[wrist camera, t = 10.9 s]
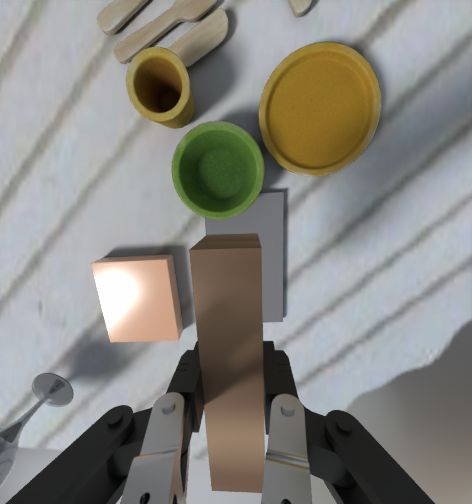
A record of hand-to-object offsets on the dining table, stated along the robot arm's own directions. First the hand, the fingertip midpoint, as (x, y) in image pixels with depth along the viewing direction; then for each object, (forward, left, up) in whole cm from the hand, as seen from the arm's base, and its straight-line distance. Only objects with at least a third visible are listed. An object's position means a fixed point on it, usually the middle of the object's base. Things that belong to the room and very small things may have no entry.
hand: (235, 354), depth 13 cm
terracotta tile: (-1, -14, -17) cm, 22 cm away
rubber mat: (0, +1, -18) cm, 18 cm away
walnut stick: (0, 0, -2) cm, 2 cm away
